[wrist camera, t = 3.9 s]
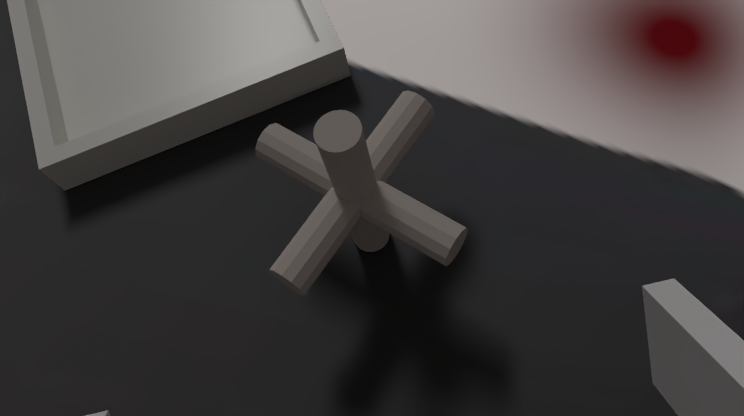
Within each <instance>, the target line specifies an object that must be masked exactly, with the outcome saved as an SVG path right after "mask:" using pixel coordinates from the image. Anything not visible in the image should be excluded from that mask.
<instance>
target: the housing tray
mask: <svg viewBox="0 0 744 416" xmlns="http://www.w3.org/2000/svg"><path fill="white" fill-rule="evenodd" d="M7 3H8V9H9V14H10V19H11V24H12V30H13V35H14V40H15V46H16V51H17V56H18V61H19V67H20V72H21V77H22V82H23V88H24V93H25V98H26V103H27V109H28V114H29V119H30V124H31V130H32V135H33V140H34V146H35V151H36V156H37V161H38V167H39V170H40V171H42V172H43V173H44V174H45V175H46V176H48V177H49V178H50V179H51V180H52V181H54V182H55V183H56V184H57V185H58V186H60V187H61V188H62V189H63V190H64V191H65V190H68V189H70V188H73V187H75V186H78V185H80V184H83V183H85V182H88V181H90V180H93V179H95V178H98V177H100V176H103V175H105V174H108V173H110V172H113V171H115V170H118V169H120V168H123V167H125V166H128V165H130V164H133V163H135V162H138V161H140V160H143V159H145V158H148V157H150V156H153V155H155V154H158V153H160V152H163V151H165V150H168V149H170V148H173V147H175V146H178V145H180V144H183V143H185V142H188V141H190V140H193V139H195V138H197V137H200V136H202V135H205V134H207V133H210V132H212V131H215V130H217V129H220V128H222V127H225V126H227V125H230V124H232V123H235V122H237V121H240V120H242V119H245V118H247V117H250V116H252V115H255V114H257V113H260V112H262V111H265V110H267V109H270V108H272V107H275V106H277V105H280V104H282V103H285V102H287V101H290V100H292V99H295V98H297V97H300V96H302V95H305V94H307V93H310V92H312V91H315V90H317V89H320V88H322V87H325V86H327V85H330V84H332V83H334V82H337V81H339V80H342V79H344V78H347V77H349V76H351V75H350V71H349V67H348V63H347V59H346V55H345V51H344V48H343V46H342V43H341V42H340V39H339V37H338V35H337V33H336V31H335V29H334V27H333V25H332V22H331V20H330V18H329V16H328V14H327V12H326V10H325V8H324V6H323V4H322V2H321V0H7Z"/></svg>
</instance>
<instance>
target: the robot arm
mask: <svg viewBox="0 0 744 416" xmlns="http://www.w3.org/2000/svg"><path fill="white" fill-rule="evenodd" d="M642 290H643V299H644V308H645V317H646V326H647V336H648V345H649V354H650V363H651V372H652V381H653V384H654V385H655V386H656V388H657V389H658V390H659V392H660V393H661V394H662V395H663V397H664V398H665V399H666V401H667V402H668V403H669V404H670V406H671V407H672V408H673V409H674V411H675V412H676V413H677V415H678V416H744V341H743V340H742V339H741V338H740V337H739V336H738V335H737V334H736V333H734V332H733V331H732V330H731V329H730V328H729V327H728V326H727V325H726V324H724V323H723V322H722V321H721V320H720V319H719V318H718V317H717V316H715V315H714V314H713V313H712V312H711V311H710V310H709V309H708V308H706V307H705V306H704V305H703V304H702V303H701V302H700V301H699V300H697V299H696V298H695V297H694V296H693V295H692V294H691V293H690V292H688V291H687V290H686V289H685V288H684V287H683V286H682V285H681V284H680V283H678V282H677V281H676V280H675V279H669V280H665V281H661V282H657V283H652V284H648V285H644V286H642ZM86 416H110V413H109V411H108V410H107V411H103V412H99V413H94V414H90V415H86Z"/></svg>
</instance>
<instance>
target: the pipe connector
mask: <svg viewBox="0 0 744 416" xmlns="http://www.w3.org/2000/svg"><path fill="white" fill-rule="evenodd" d="M434 115H435V112H434V109H433V107H432V106H431V105H430V103H429V102H428V101H427V100H426V99H425V98H423V97H422V96H420V95H419V94H417V93H414V92H411V91H405V92H402V94H401V95H400V96H399V98H398V99H397V100H396V102H395V103H394V104H393V106H392V107H391V108H390V110H389V111H388V112H387V114H386V115H385V116H384V118H383V119H382V120H381V122H380V123H379V124H378V126H377V127H376V128H375V130H374V131H373V132H372V134H371V135H370V136H369V138H368V139H367V140H365V136H364V132H363V128H362V125H361V122H360V120H359V119H358V117H357V116H356V115H354V114H353V113H351V112H349V111H346V110H335V111H331V112H328V113H326V114H325V115H323V116H322V117H321V118H320V119H319V120H318V121H317V123H316V124H315V127H314V131H313V134H314V139H315V142H316V145H315V144H314V143H312V142H310V141H308V140H306V139H305V138H303V137H301V136H299V135H297V134H296V133H294V132H292V131H290V130H288V129H286V128H285V127H283V126H281V125H279V124H277V123H274V124H270V125H269V126H268V127H267V128H265V129H264V130H263V132H262V133H261V135H260V137H259V138H258V140H257V144H256V148H255V151H256V156H257V157H259V158H260V159H262V160H264V161H266V162H267V163H269V164H271V165H272V166H274V167H276V168H278V169H279V170H281V171H283V172H284V173H286V174H288V175H290V176H291V177H293V178H295V179H297V180H298V181H300V182H302V183H303V184H305V185H307V186H309V187H310V188H312V189H314V190H315V191H317V192H319V193H321V194H322V195H324V198H323V199H322V200H321V202H320V203H319V204H318V206H317V207H316V208H315V210H314V211H313V212H312V214H311V215H310V216H309V218H308V219H307V220H306V222H305V223H304V224H303V226H302V227H301V228H300V230H299V231H298V232H297V234H296V235H295V236H294V238H293V239H292V240H291V242H290V243H289V244H288V246H287V247H286V248H285V250H284V251H283V252H282V254H281V255H280V256H279V258H278V259H277V260H276V262H275V263H274V264H273V266H272V267H271V268H270V272H271V273H272V274H273V275H274V276H275V277H276V278H277V279H278V280H279V281H281V282H282V283H283V284H285V285H286V286H287V287H289V288H290V289H292V290H293V291H295V292H297V293H298V294H300V295H303V296H305V295H306V293H307V292H308V290H309V289H310V288H311V286H312V285H313V284H314V282H315V281H316V279H317V278H318V277H319V275H320V274H321V272H322V271H323V270H324V268H325V267H326V266H327V264H328V263H329V261H330V260H331V259H332V257H333V256H334V254H335V253H336V252H337V250H338V249H339V247H340V246H341V245H342V243H343V242H344V241H345V239H346V238H347V236H348V235H349V234H350V232H351V234H352V237H353V239H354V242H355V244H356V245H357V247H359V248H360V249H361V250H363V251H366V252H375V251H378V250H380V249H382V248H383V247H384V246H385V245H386V244H387V242H388V240H389V233H390V234H391V235H393V236H395V237H396V238H398V239H400V240H402V241H403V242H405V243H407V244H409V245H410V246H412V247H414V248H415V249H417V250H419V251H421V252H422V253H424V254H426V255H428V256H429V257H431V258H433V259H434V260H436V261H438V262H440V263H441V264H443V265H445V266H446V267H447V266H448V265H449V264H450V263H451V262H452V261H453V259H454V258H455V257H456V255H457V254H458V252H459V250H460V249H461V247H462V245H463V243H464V240H465V238H466V236H467V232H468V229H467V228H466V227H464V226H462V225H460V224H459V223H457V222H455V221H453V220H451V219H450V218H448V217H446V216H444V215H442V214H440V213H439V212H437V211H435V210H433V209H431V208H430V207H428V206H426V205H424V204H422V203H421V202H419V201H417V200H415V199H413V198H411V197H410V196H408V195H406V194H404V193H402V192H401V191H399V190H397V189H395V188H393V187H392V186H390V185H388V184H386V182H387V181H388V180H389V178H390V177H391V175H392V174H393V173H394V171H395V170H396V168H397V167H398V166H399V164H400V163H401V162H402V160H403V159H404V157H405V156H406V155H407V153H408V152H409V150H410V149H411V148H412V146H413V145H414V143H415V142H416V141H417V139H418V138H419V137H420V135H421V134H422V132H423V131H424V130H425V128H426V127H427V125H428V124H429V123H430V121H431V120H432V119H433V117H434Z"/></svg>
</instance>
